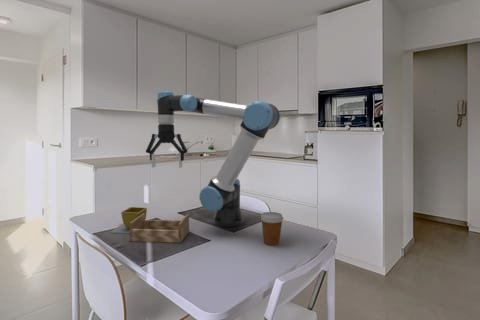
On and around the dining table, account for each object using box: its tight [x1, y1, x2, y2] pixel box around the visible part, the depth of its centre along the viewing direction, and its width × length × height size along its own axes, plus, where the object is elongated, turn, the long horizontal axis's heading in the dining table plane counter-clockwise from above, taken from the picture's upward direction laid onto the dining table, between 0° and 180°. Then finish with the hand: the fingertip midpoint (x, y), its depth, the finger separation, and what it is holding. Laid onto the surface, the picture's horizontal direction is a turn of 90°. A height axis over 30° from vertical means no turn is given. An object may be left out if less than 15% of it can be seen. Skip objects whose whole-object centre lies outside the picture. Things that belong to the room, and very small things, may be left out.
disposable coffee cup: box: [260, 211, 284, 246], centre depth 123 cm, size 10×10×12 cm
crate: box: [129, 213, 190, 244], centre depth 130 cm, size 22×14×8 cm, turn 86°
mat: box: [109, 222, 130, 235], centre depth 140 cm, size 13×13×1 cm
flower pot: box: [120, 206, 148, 229], centre depth 139 cm, size 9×9×9 cm
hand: (167, 167), depth 145 cm, fingers open, 13 cm apart
